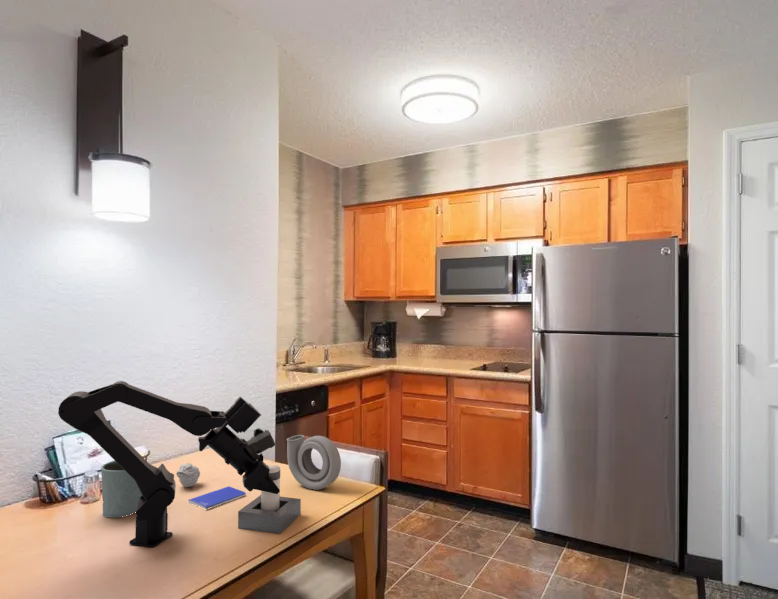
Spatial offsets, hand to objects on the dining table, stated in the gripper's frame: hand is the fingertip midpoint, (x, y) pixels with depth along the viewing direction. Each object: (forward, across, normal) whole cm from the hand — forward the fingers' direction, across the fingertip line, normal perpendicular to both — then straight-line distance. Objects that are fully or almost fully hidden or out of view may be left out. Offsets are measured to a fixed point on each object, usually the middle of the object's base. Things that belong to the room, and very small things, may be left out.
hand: (276, 487), depth 122 cm
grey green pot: (-19, +20, +31) cm, 41 cm away
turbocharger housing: (+16, +18, -4) cm, 25 cm away
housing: (+5, 0, +7) cm, 8 cm away
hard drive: (-3, +19, +15) cm, 24 cm away
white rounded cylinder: (+5, 0, +7) cm, 8 cm away
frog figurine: (-8, +32, +20) cm, 38 cm away
